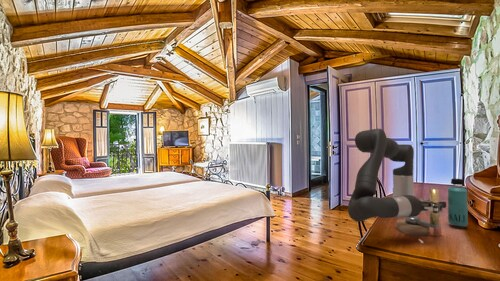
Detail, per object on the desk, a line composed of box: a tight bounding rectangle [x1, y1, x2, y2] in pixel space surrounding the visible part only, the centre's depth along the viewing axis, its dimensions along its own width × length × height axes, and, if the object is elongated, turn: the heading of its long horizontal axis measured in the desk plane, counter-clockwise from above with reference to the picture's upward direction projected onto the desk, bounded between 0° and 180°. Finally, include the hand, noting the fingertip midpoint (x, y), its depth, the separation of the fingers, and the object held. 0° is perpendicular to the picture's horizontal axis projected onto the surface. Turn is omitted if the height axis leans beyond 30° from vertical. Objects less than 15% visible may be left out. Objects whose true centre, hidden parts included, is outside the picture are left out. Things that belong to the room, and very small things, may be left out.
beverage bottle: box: [447, 178, 469, 227], centre depth 104 cm, size 6×7×20 cm
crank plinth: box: [396, 218, 431, 237], centre depth 102 cm, size 11×11×3 cm
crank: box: [404, 188, 440, 229], centre depth 99 cm, size 12×5×15 cm, turn 28°
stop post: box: [433, 218, 442, 237], centre depth 97 cm, size 2×2×6 cm
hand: (440, 203), depth 95 cm, fingers closed on crank, 3 cm apart
